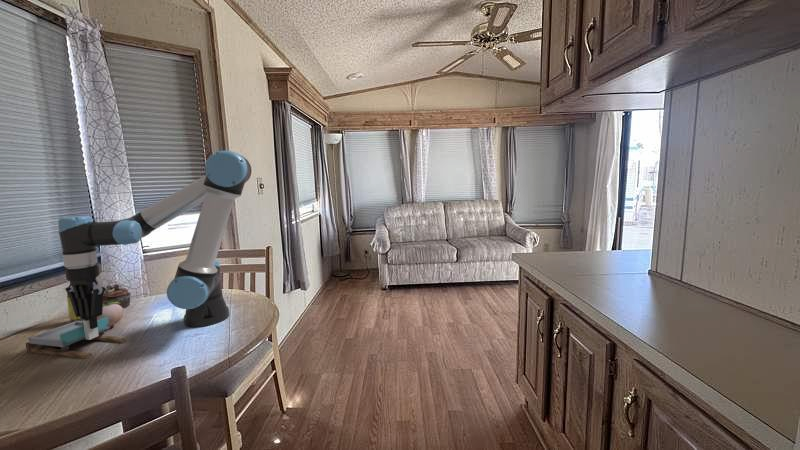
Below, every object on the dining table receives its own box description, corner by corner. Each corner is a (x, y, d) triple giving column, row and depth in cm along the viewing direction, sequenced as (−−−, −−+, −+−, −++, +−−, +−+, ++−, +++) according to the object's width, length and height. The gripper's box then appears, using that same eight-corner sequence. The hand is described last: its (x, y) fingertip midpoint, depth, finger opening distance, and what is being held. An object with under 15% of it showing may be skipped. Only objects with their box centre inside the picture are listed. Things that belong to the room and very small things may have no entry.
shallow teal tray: (110, 334, 112) (107, 317, 111) (64, 353, 99) (61, 334, 99) (78, 331, 115) (76, 314, 114) (30, 349, 102) (27, 331, 102)
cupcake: (136, 305, 143) (134, 283, 142) (109, 313, 134) (106, 289, 133) (124, 302, 147) (122, 280, 146) (98, 309, 139) (94, 287, 137)
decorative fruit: (106, 334, 115) (102, 306, 114) (87, 332, 116) (82, 305, 115) (132, 323, 124) (128, 297, 123) (114, 321, 126) (110, 296, 124)
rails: (126, 340, 110) (125, 331, 110) (86, 359, 98) (84, 349, 98) (71, 334, 115) (70, 326, 115) (26, 352, 104) (25, 343, 103)
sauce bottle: (78, 325, 123) (70, 273, 121) (65, 324, 125) (57, 273, 122) (97, 318, 130) (90, 269, 127) (85, 317, 131) (77, 268, 128)
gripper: (111, 263, 104) (120, 334, 107) (79, 262, 107) (89, 331, 110) (84, 269, 97) (95, 345, 100) (51, 268, 100) (62, 341, 103)
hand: (92, 337), depth 105 cm, fingers closed
